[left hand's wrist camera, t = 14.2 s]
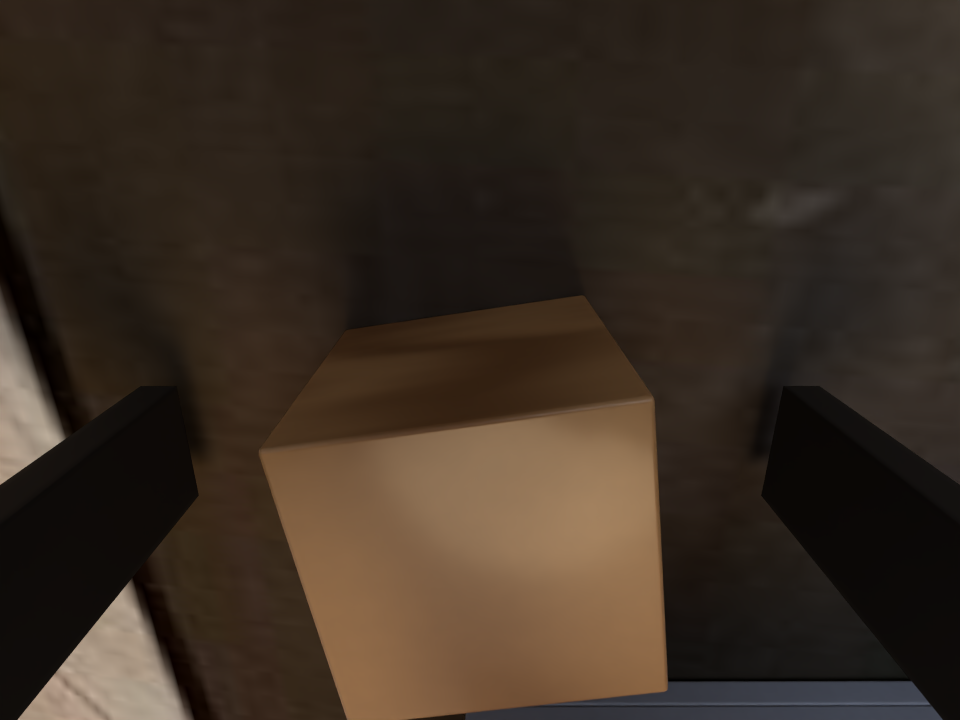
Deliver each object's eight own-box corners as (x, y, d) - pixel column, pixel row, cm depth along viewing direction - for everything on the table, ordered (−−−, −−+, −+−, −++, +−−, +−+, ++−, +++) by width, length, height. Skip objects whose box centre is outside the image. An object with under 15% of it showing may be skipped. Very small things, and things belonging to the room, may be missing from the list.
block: (393, 526, 14) (347, 728, 9) (344, 329, 12) (254, 450, 7) (603, 499, 14) (670, 693, 9) (585, 293, 12) (656, 396, 7)
